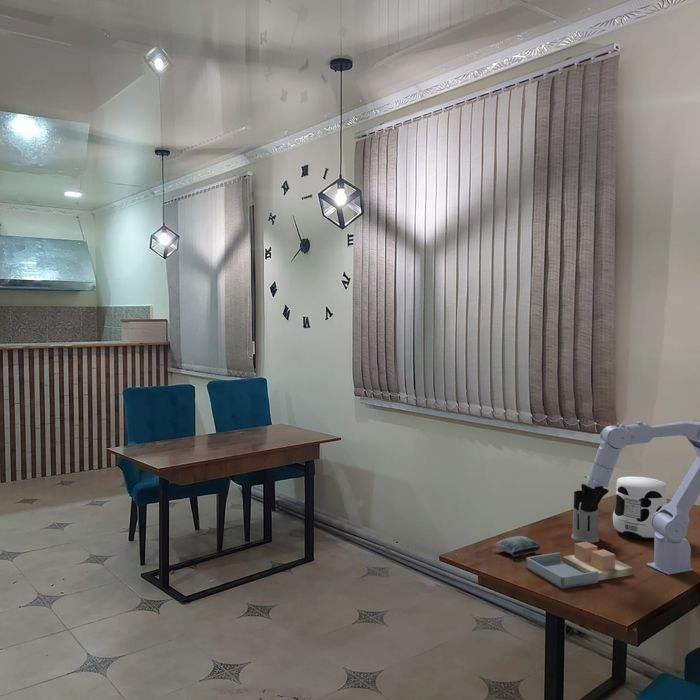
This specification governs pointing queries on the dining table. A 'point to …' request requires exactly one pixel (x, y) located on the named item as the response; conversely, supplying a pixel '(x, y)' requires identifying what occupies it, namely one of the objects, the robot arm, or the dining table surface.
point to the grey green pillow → (518, 545)
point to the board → (586, 567)
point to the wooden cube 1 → (584, 550)
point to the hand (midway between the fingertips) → (587, 510)
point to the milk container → (638, 505)
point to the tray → (559, 571)
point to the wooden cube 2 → (603, 559)
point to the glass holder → (584, 521)
